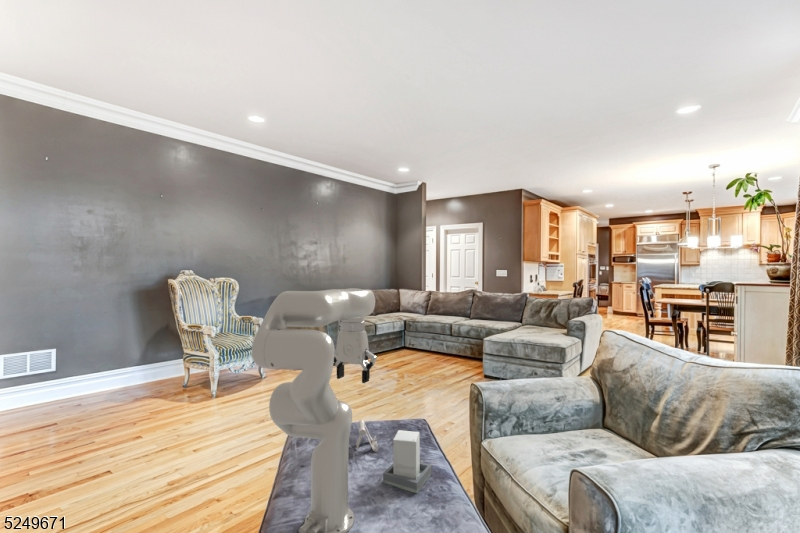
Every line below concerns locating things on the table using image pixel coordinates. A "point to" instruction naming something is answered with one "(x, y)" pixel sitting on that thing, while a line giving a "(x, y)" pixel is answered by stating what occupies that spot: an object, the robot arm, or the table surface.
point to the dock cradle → (408, 483)
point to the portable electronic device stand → (363, 432)
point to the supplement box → (406, 454)
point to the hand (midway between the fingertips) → (352, 379)
